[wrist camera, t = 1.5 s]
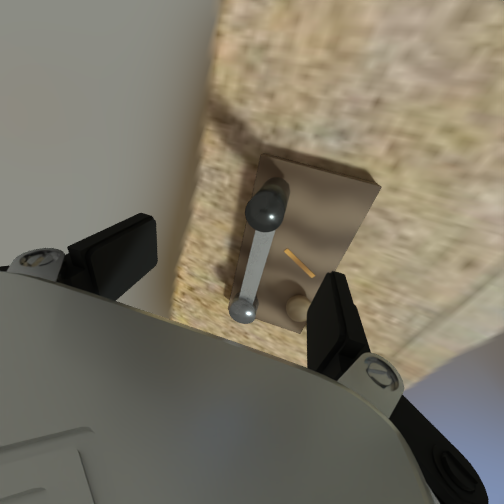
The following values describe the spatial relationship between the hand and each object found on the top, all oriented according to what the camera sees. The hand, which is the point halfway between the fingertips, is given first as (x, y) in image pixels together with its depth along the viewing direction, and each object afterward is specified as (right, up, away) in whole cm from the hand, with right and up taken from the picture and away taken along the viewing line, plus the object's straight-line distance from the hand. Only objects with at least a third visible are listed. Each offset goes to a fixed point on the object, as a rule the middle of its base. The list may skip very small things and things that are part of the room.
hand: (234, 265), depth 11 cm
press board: (+6, 0, +21) cm, 22 cm away
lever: (+2, 0, +19) cm, 19 cm away
